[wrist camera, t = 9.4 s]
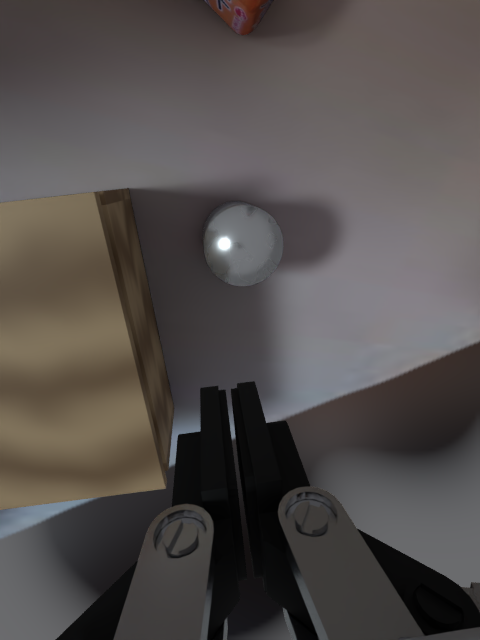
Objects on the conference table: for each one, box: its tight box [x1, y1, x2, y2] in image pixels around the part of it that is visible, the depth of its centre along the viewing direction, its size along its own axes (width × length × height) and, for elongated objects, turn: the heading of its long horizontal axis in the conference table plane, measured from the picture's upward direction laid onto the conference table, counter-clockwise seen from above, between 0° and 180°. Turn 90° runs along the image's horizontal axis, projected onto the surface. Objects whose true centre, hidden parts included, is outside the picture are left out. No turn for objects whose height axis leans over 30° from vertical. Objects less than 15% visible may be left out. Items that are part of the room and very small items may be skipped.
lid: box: [0, 192, 167, 510], centre depth 24 cm, size 22×17×1 cm
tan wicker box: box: [98, 188, 174, 471], centre depth 29 cm, size 22×17×9 cm
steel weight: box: [202, 201, 283, 286], centre depth 30 cm, size 6×6×6 cm
